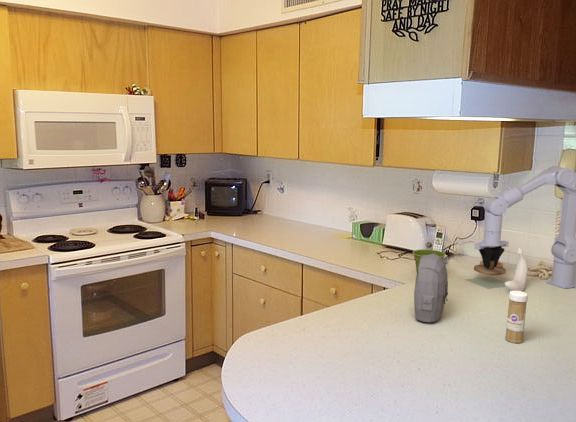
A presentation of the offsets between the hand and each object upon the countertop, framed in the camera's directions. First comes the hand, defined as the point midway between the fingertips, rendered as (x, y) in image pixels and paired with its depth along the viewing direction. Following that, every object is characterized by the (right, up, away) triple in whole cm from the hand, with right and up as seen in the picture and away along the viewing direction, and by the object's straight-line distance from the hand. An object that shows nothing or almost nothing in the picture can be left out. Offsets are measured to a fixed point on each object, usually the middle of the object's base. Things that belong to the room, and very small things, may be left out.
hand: (489, 266), depth 190 cm
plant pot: (-23, -6, +1) cm, 24 cm away
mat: (0, -6, +1) cm, 6 cm away
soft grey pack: (-32, -12, -36) cm, 50 cm away
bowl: (+7, -4, +16) cm, 17 cm away
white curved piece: (+6, -8, -8) cm, 13 cm away
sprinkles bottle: (-13, -15, -51) cm, 55 cm away
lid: (0, -1, 0) cm, 1 cm away
